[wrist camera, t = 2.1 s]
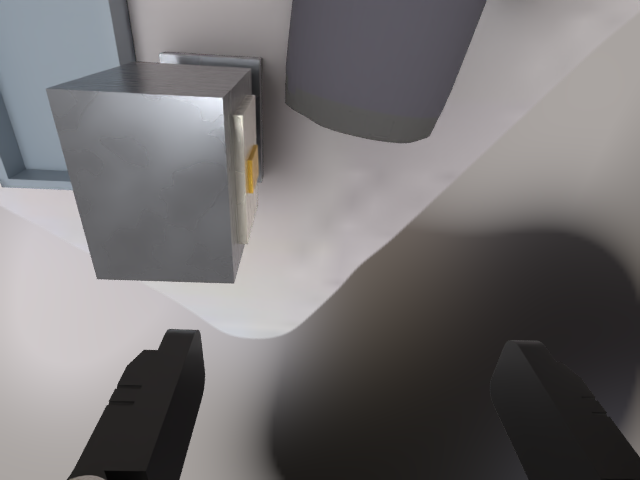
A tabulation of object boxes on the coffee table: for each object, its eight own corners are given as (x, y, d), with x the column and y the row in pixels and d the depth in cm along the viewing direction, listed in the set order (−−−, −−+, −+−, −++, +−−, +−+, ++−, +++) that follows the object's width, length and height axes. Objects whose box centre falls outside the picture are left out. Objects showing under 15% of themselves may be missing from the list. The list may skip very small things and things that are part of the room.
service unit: (160, 51, 25) (36, 87, 14) (270, 58, 25) (239, 99, 14) (176, 172, 29) (90, 278, 18) (271, 176, 29) (247, 283, 18)
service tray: (-65, -98, 21) (-107, -109, 19) (113, -84, 22) (91, -95, 20) (25, 173, 29) (1, 187, 27) (154, 179, 29) (142, 193, 27)
